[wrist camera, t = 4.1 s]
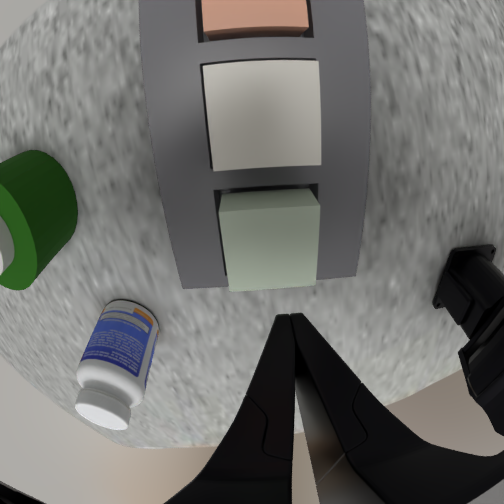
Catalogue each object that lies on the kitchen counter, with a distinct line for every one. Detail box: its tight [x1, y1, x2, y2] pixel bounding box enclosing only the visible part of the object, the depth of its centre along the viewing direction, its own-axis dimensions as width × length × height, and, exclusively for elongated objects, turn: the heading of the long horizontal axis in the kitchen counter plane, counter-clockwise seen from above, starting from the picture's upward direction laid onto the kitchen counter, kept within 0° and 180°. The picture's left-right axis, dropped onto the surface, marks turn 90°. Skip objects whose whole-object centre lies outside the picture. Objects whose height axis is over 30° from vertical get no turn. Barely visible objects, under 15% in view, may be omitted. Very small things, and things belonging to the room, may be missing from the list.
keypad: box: [139, 0, 371, 289], centre depth 13 cm, size 11×20×3 cm, turn 4°
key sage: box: [219, 188, 320, 292], centre depth 15 cm, size 5×5×2 cm
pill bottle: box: [75, 300, 159, 430], centre depth 18 cm, size 5×5×10 cm
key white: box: [203, 60, 321, 171], centre depth 11 cm, size 5×5×2 cm
